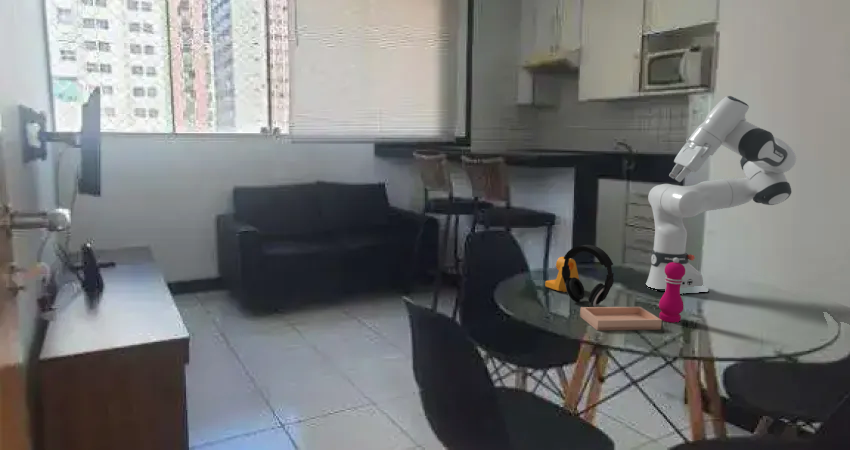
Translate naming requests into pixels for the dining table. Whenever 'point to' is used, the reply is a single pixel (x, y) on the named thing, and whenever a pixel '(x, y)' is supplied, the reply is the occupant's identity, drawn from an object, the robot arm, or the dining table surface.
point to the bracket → (559, 281)
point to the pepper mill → (672, 293)
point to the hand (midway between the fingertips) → (674, 179)
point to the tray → (620, 318)
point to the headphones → (575, 285)
